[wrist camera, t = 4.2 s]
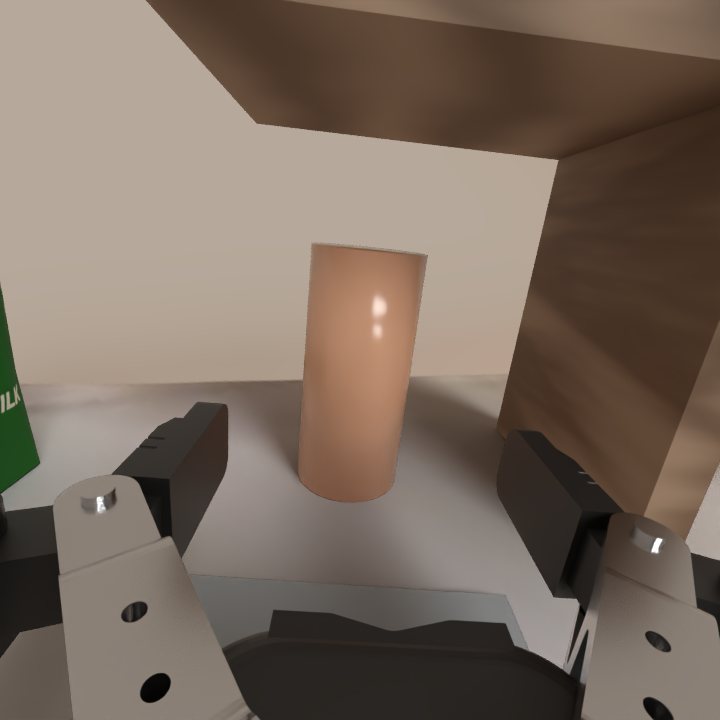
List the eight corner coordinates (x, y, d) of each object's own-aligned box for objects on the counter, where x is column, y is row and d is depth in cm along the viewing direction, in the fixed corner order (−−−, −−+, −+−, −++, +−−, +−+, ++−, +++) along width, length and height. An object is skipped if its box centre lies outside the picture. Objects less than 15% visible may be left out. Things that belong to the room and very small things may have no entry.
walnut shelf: (522, 430, 30) (600, 126, 24) (661, 594, 16) (924, -9, 10) (250, 406, 29) (257, 83, 23) (162, 560, 15) (119, -130, 9)
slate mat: (502, 605, 15) (505, 595, 15) (657, 991, 7) (666, 978, 7) (177, 584, 14) (177, 573, 14) (-18, 980, 7) (-23, 965, 7)
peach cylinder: (390, 449, 25) (417, 252, 21) (399, 506, 20) (438, 258, 16) (303, 442, 25) (316, 241, 21) (290, 498, 20) (305, 244, 16)
